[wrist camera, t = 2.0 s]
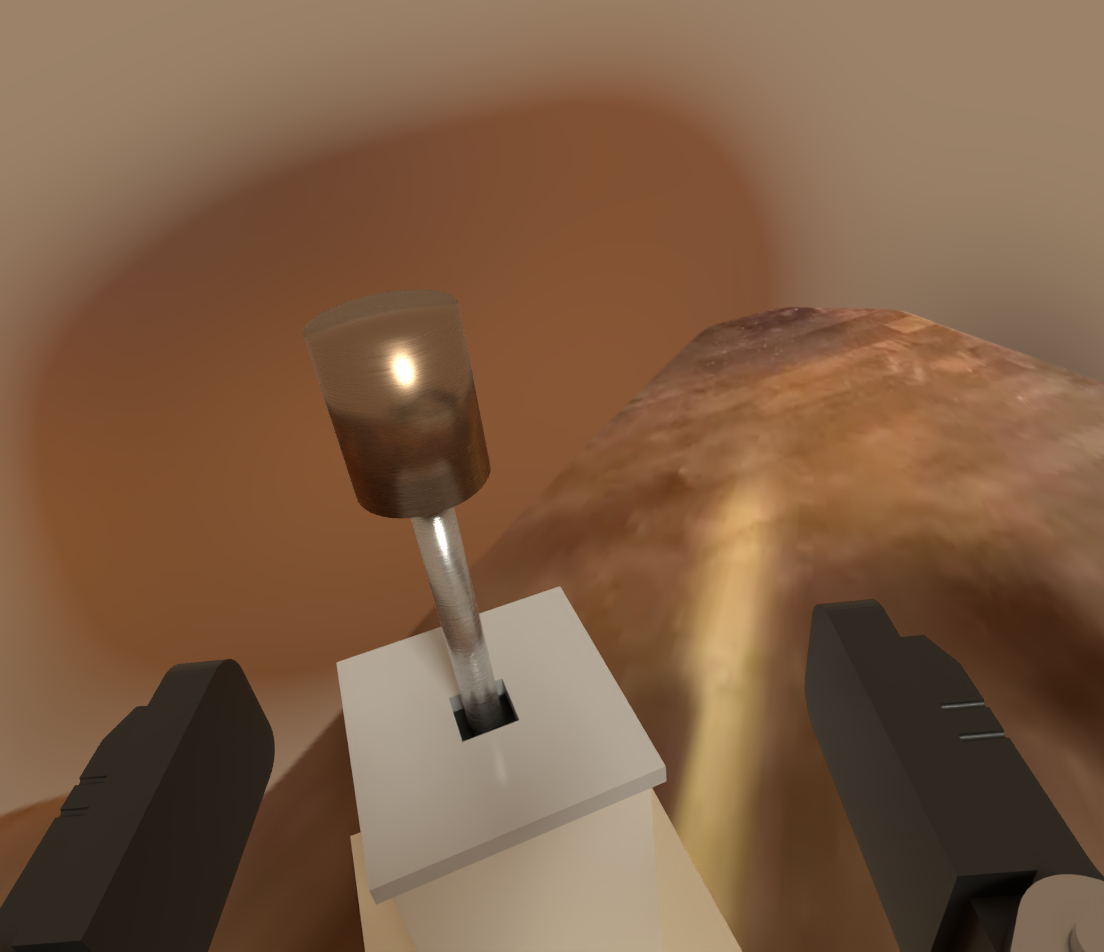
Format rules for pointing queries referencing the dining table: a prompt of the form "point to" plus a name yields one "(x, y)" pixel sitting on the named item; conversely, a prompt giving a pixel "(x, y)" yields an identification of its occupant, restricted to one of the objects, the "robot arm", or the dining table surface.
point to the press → (514, 803)
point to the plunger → (415, 452)
